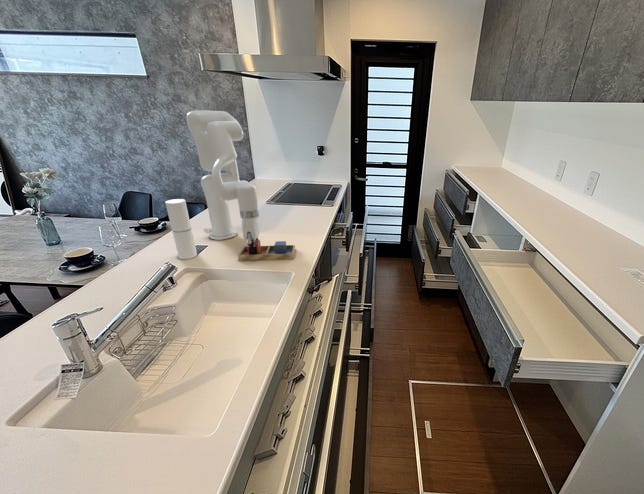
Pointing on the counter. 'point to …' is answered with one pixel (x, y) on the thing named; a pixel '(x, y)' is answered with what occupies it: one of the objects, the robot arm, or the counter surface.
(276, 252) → the blue block
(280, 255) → the tray
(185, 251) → the cylindrical container
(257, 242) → the red block
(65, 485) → the counter surface
